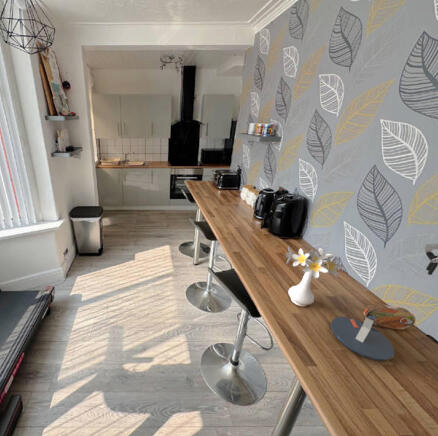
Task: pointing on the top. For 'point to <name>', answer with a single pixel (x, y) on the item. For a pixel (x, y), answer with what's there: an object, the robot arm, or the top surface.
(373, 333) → the rotary dial knob
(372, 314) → the tin
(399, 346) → the top surface
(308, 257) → the flower vase
